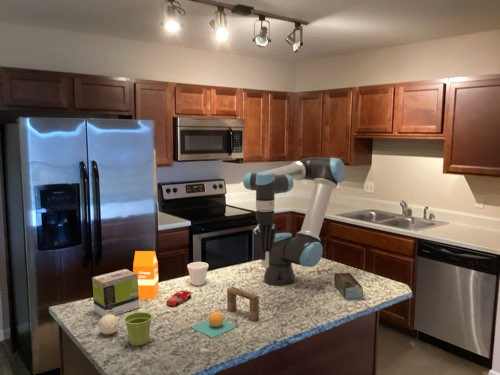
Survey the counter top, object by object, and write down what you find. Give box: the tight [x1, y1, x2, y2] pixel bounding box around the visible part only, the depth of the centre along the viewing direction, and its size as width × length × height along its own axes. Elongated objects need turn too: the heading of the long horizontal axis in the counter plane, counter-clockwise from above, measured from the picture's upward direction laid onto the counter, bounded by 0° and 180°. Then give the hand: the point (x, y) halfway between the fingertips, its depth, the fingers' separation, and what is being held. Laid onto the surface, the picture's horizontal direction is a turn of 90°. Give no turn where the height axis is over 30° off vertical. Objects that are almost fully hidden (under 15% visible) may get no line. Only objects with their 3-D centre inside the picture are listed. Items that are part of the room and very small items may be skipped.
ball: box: [208, 311, 225, 327], centre depth 156 cm, size 6×6×6 cm
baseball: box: [98, 314, 120, 335], centre depth 150 cm, size 7×7×7 cm
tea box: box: [91, 268, 140, 318], centre depth 170 cm, size 15×10×15 cm, turn 134°
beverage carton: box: [333, 272, 364, 301], centre depth 189 cm, size 8×19×7 cm, turn 3°
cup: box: [186, 261, 209, 287], centre depth 200 cm, size 10×10×9 cm
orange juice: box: [132, 250, 160, 300], centre depth 185 cm, size 8×9×20 cm
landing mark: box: [190, 319, 238, 339], centre depth 155 cm, size 12×12×1 cm
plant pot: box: [123, 311, 153, 347], centre depth 144 cm, size 9×9×9 cm
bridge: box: [226, 286, 260, 322], centre depth 166 cm, size 3×14×9 cm, turn 46°
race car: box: [166, 290, 192, 307], centre depth 180 cm, size 13×5×4 cm, turn 150°
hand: (265, 266), depth 173 cm, fingers closed
